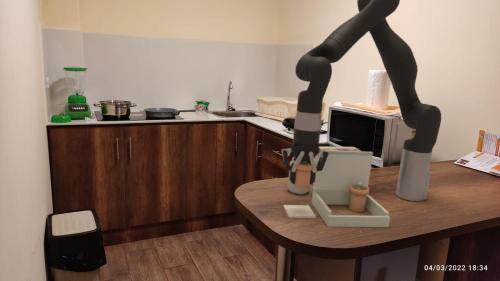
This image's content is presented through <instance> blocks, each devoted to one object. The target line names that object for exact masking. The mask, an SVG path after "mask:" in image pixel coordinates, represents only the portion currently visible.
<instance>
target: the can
mask: <svg viewBox="0 0 500 281" xmlns="http://www.w3.org/2000/svg"><path fill="white" fill-rule="evenodd" d="M293 158H294V156H293V157H292V158H291V159H292V160H293ZM292 160H291V161H289V165H291V164H292ZM289 176H290V170H288V177H289ZM287 189H288V190H289V192H290V193H292V194H294V195H306V194H307V193H308V192H310V188H308V189H299V188H296V187H294V186H293V184H292V183H291V182H290V180H289V178H288V182H287Z"/></svg>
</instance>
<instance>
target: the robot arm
mask: <svg viewBox="0 0 500 281" xmlns="http://www.w3.org/2000/svg"><path fill="white" fill-rule="evenodd" d="M400 1H401V0H357V4H356V5H357V9H358V13H357V14H355V15H354V16H352V17H351V18H349V19H347V20H346V21H344V22H343V23H342V24H340V25H339V26H337V27H336V28H335V29H334V30H333V31H332V32H331V33H330V34H329V35H328V36H327V37H326V38H325V39H324V40H323V42H321V43H320V44H319V45H317V46H314V48H312V49H311V50H309V51H307V52H306V53H305V54H303V55H302V56H301V57H300V58H299V60H298V61H297V62H296V65H295V69H294V70H295V75H296V77H297V78H298V79H299V80H301V81H303V82H307V83H309V84H308V86H307V88H306V90H302V91H300V92H299V93H298V96H297V104H296V114H295V118H294V127H293V135H292V136H293V137H292V145H291V146H290V147H289V148H282V149H281V155H282V162H283V166H284V168H285V170H286V171H289V170H290V176H289V175H288V179H289V180H290V182H291V183H292V184H295V177H296V172H295V171H296V169H295V168H296V165H297V164H299V163H300V162H304V161H305V162H310V163H311V165H313V170H311V178H310V186H311V185H314V182H315V176H316V172H317V171H322V170H323V167H324V165H325V162H326V159H327V157H328V152H327V151H325V150H320V149H319V147H320V146H319V145H320V136H321V129H322V111H323V103H324V96H325V95H326V92H327V90H328V87H329V85H330V81H331V78H332V74H333V68H332V64H335V63H338V62H339V61H341V60H342V58H343V57H344V56H346V54H347V53H348V52H349V51H350V50H351V49H352V47H354V46H355V45H356V44H357V43H358V42H359V40H361V39H362V38H363V37H364V36H365V35H367V33H369V35H370V36H371V37H372V40H373V42H374V44H375V46H376V49H377V52H378V54H379V56H380V59H381V62H382V65H383V67H384V70H385V71H386V75H387V76H388V79H389V80H390V81H389V82H390V84H391V86H392V89H393V92H394V93H395V97H396V100H397V102H398V107H399V111H400V113H401V118H402V120H403V122H404V124H405V125H406V126H407V127H408V128H410V129H411V130H415V133H414V136H413V137H412V138H408V139H406V140H404V141H403V144H402V145H403V147H402V152H401V153H402V154H401V159H400V163H399V164H400V167H399V171H398V178H397V183H396V184H397V185H396V190H395V195H396V196H397V197H398V198H400V199H403V200H406V201H409V202H410V201H412V202H422V201H426V200H427V196H428V192H429V187H430V180H431V176H432V175H431V173H430V172H429V170H430V166H431V165H430V164H431V161H432V160H431V159H432V153H433V149H434V147H435V146H436V143H437V140H438V136H439V131H440V128H441V122H442V113H441V110H440V108H439V107H438V106H436V105H432V104H428V103H427V104H426V103H422V102H421V100H420V98H419V97H418V93H417V91H416V81H417V78H418V76H417V75H418V64H417V61H416V58H415V56H414V53H413V50H412V48H411V47H410V45H409V44H408V43H407V42H406V41H405V40H404V39H403V38H402V37H400V35H398V34H397V33H396V32H395V31H394V30H393V28H392V27H391V26H390V25H389V22H388V21H387V19H386V18H388V17H389V16H390V15H392V14H393V13H394V12H395V11H396V10H397V9H398V7H399V5H400V3H401V2H400ZM291 153H292V155H293V157H294V158H293V157H292V158H293V160H291V161H292V164H291V165H290V161H289V157H290V156H291ZM318 153H319V156H320V158H319V161H318V164H317V166H316V158H317V154H318Z"/></svg>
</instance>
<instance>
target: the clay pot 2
mask: <svg viewBox="0 0 500 281" xmlns="http://www.w3.org/2000/svg"><path fill="white" fill-rule="evenodd" d="M350 192H351V197H350V205H348V206H349V207H348V209H349V210H350V211H352V212H354V213H364V212H365V211H366V208H365V205H366V197H367V195H369V193H370V188H369V186H368V187H365V186H363V184H362V183H361V182H359V183H357V185H351V186H350Z"/></svg>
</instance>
